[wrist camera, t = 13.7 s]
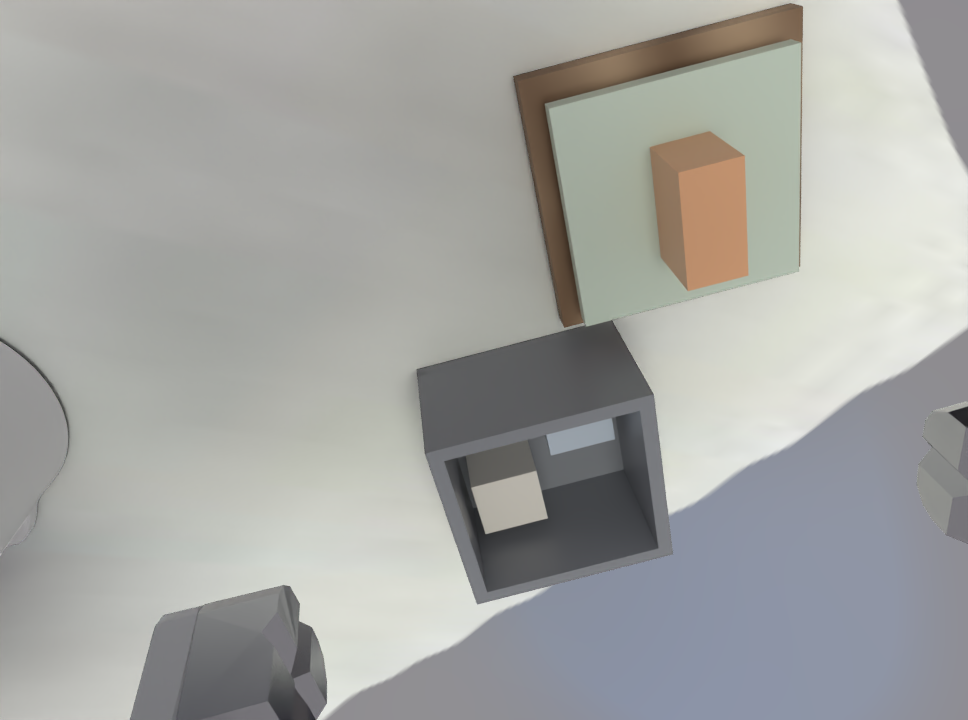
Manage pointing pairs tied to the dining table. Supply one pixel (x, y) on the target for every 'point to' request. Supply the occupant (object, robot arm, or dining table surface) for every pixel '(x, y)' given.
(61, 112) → the dining table surface
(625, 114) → the lid
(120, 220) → the dining table surface
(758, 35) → the walnut board
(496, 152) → the dining table surface
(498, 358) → the storage box
